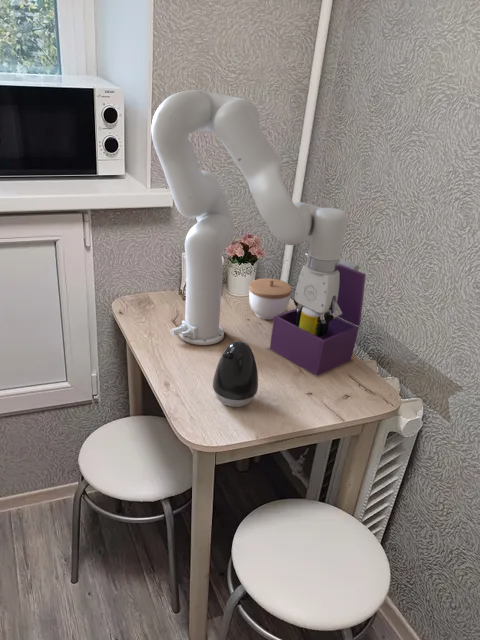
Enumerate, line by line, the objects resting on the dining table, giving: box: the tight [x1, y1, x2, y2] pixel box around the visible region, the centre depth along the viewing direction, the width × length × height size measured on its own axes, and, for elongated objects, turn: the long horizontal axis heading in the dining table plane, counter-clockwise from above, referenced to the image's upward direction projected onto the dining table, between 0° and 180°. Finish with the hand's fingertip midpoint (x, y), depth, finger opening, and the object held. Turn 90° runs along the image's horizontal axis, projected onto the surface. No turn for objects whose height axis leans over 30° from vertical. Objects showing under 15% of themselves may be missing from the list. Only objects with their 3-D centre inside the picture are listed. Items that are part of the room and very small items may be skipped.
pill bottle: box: [299, 306, 326, 338], centre depth 133 cm, size 6×6×11 cm
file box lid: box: [331, 258, 367, 327], centre depth 134 cm, size 14×17×6 cm
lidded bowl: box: [248, 277, 293, 320], centre depth 156 cm, size 13×13×11 cm
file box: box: [269, 308, 360, 377], centre depth 137 cm, size 14×17×10 cm
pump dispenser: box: [212, 340, 259, 408], centre depth 116 cm, size 10×10×15 cm
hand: (310, 329), depth 134 cm, fingers closed on pill bottle, 6 cm apart
